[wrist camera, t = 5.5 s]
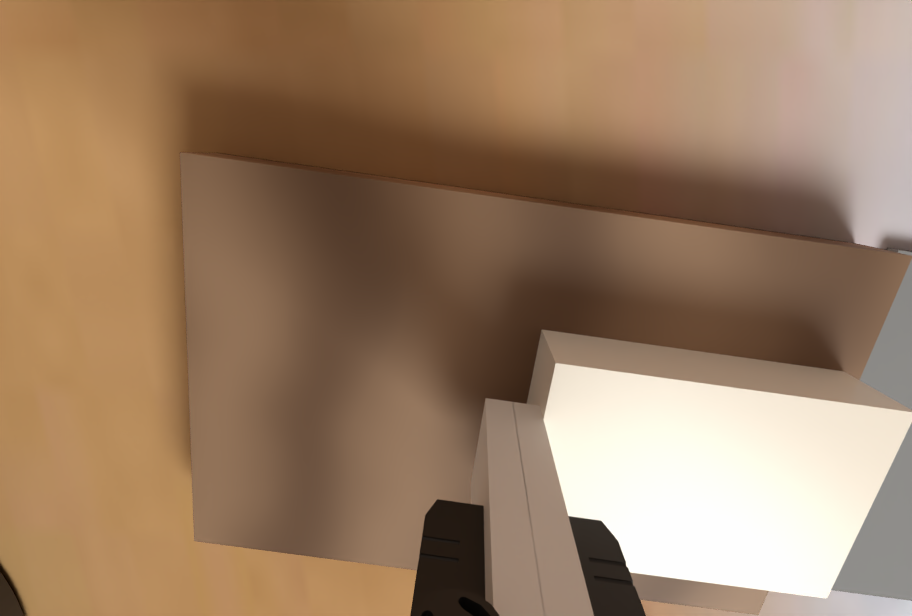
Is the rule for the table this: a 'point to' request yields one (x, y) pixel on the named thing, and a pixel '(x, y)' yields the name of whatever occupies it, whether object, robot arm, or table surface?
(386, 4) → the table surface
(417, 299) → the brown wooden board
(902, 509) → the mat
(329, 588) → the table surface
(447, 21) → the table surface
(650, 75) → the table surface
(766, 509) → the tile
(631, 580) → the robot arm
